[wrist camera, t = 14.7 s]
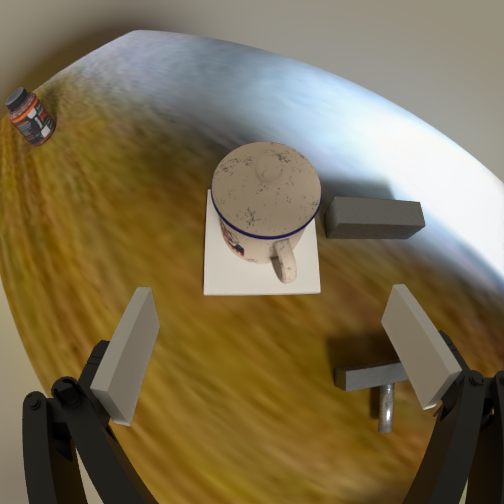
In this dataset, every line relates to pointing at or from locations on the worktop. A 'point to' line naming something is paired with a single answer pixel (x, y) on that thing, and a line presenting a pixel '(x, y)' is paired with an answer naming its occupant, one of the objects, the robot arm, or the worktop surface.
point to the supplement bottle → (30, 116)
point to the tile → (255, 265)
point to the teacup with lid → (265, 203)
